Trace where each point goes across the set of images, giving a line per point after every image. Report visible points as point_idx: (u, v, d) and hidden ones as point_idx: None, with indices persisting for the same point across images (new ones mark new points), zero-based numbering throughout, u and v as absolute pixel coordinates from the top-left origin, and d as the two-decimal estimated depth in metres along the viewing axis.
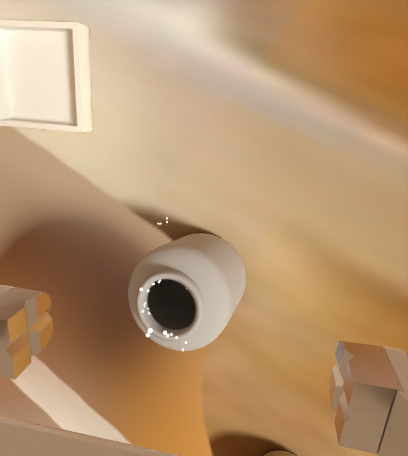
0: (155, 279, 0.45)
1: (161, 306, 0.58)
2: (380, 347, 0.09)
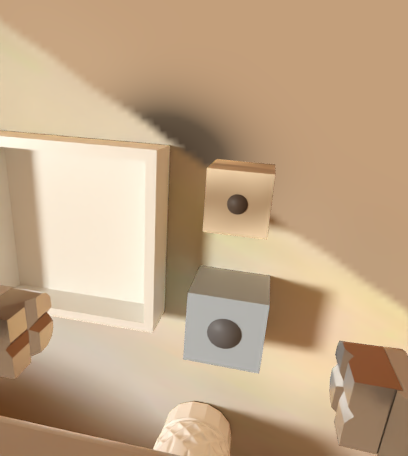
0: None
1: None
2: (380, 347, 0.09)
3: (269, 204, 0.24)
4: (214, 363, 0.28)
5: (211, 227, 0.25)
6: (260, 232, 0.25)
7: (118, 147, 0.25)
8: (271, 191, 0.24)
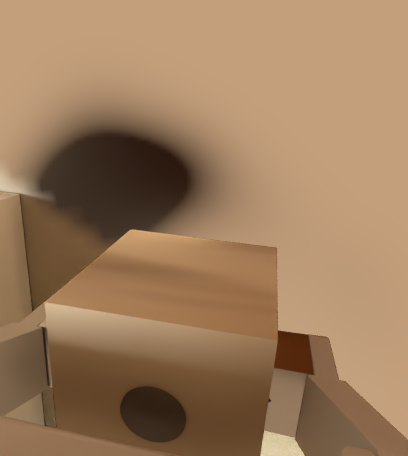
0: None
1: None
2: (305, 335, 0.09)
3: (257, 426, 0.07)
4: None
5: None
6: None
7: None
8: (263, 390, 0.07)
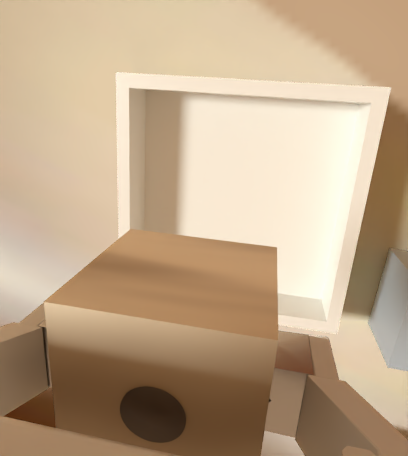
0: None
1: None
2: (305, 335, 0.09)
3: (257, 427, 0.07)
4: None
5: None
6: None
7: (333, 85, 0.19)
8: (263, 390, 0.07)
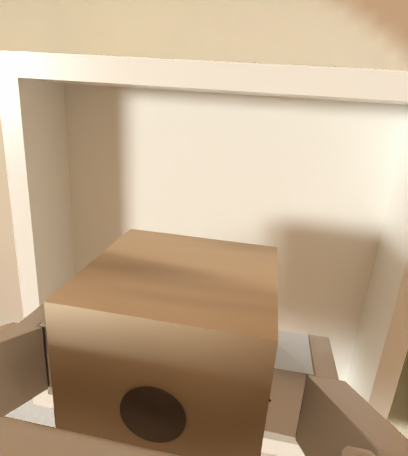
0: None
1: None
2: (305, 335, 0.09)
3: (257, 427, 0.07)
4: None
5: None
6: None
7: (378, 71, 0.10)
8: (264, 390, 0.07)
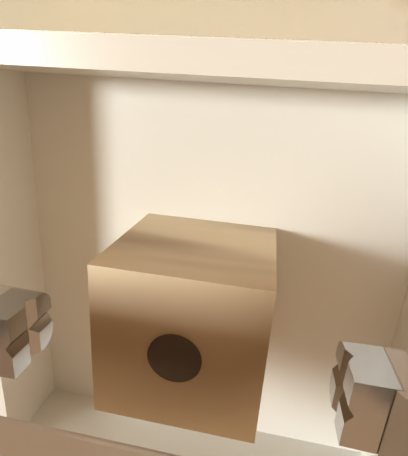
0: None
1: None
2: (380, 347, 0.09)
3: (260, 365, 0.09)
4: None
5: (113, 403, 0.10)
6: (237, 426, 0.09)
7: None
8: (265, 334, 0.08)
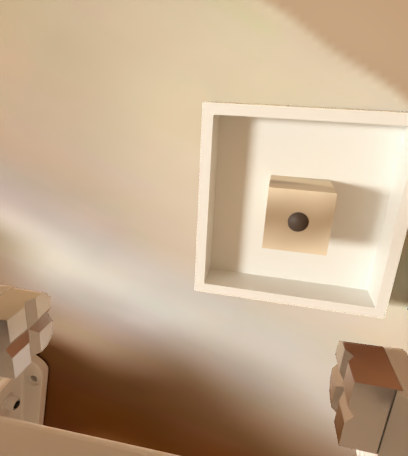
0: None
1: None
2: (380, 347, 0.09)
3: (330, 222, 0.24)
4: None
5: (270, 244, 0.26)
6: (320, 248, 0.25)
7: (388, 112, 0.23)
8: (332, 209, 0.24)
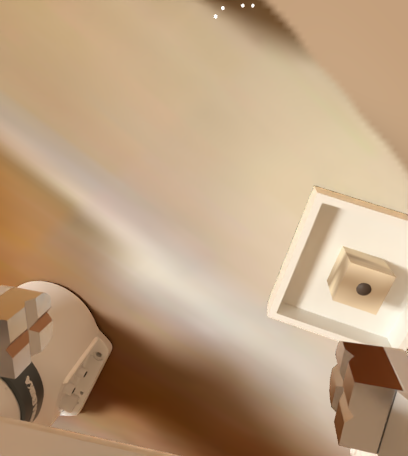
0: None
1: None
2: (380, 347, 0.09)
3: (385, 294, 0.35)
4: None
5: (339, 299, 0.36)
6: (373, 309, 0.36)
7: None
8: (390, 286, 0.35)
